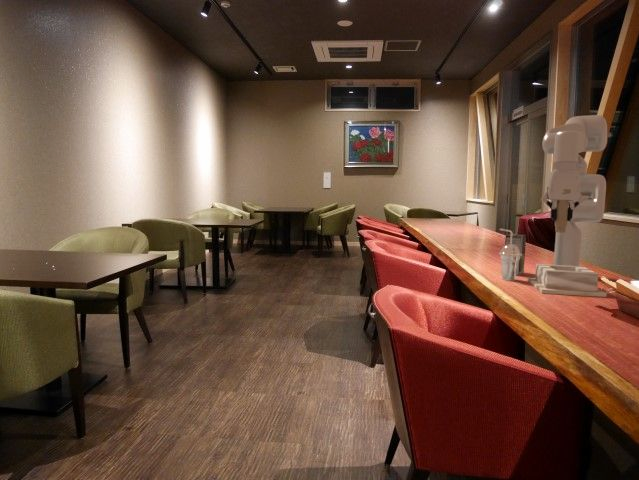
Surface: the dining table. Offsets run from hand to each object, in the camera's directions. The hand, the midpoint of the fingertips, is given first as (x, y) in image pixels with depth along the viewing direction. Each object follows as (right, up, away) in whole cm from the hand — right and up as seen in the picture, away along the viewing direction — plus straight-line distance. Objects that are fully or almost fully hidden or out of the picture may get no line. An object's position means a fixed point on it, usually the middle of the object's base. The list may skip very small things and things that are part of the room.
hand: (561, 220), depth 170 cm
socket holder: (+3, -24, +4) cm, 25 cm away
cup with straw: (-11, -23, +19) cm, 32 cm away
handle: (0, -4, +1) cm, 4 cm away
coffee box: (-3, -21, +34) cm, 40 cm away
